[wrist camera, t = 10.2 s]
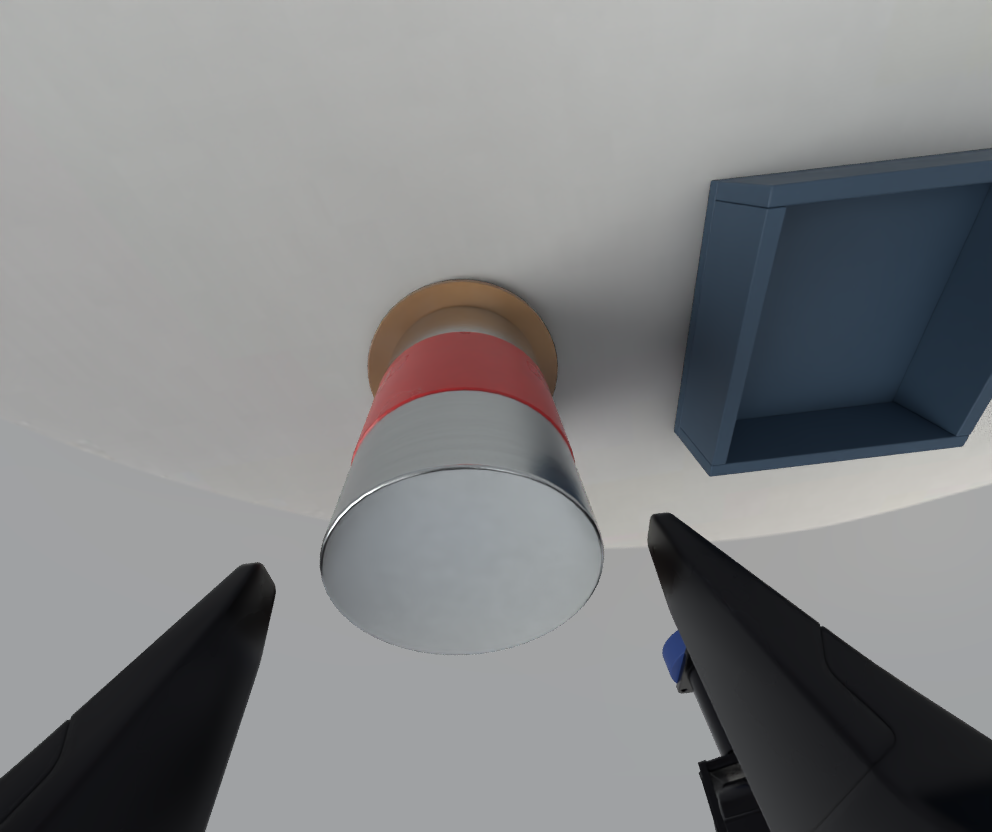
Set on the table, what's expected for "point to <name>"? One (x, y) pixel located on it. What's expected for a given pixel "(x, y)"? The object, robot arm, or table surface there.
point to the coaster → (453, 296)
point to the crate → (840, 314)
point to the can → (462, 498)
